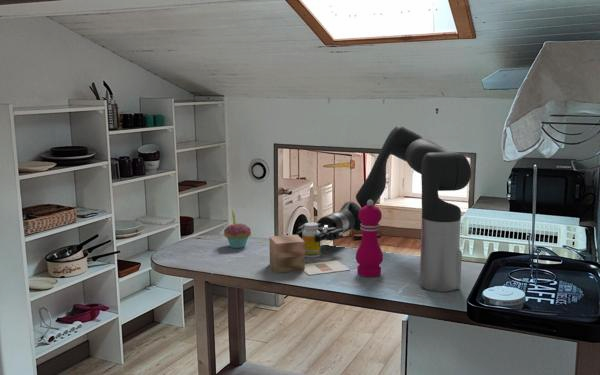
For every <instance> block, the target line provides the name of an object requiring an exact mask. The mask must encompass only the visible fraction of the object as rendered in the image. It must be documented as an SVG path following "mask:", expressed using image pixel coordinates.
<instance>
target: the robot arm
mask: <svg viewBox="0 0 600 375" xmlns="http://www.w3.org/2000/svg"><path fill="white" fill-rule="evenodd" d="M391 155H392V156H394V157H396V158H399V159H400V160H402V161H404V162H406V163H407V164H408V166H409V167H410V168H411V169H412V170H414V172H416V173H418V174H420V175H421V180H420V181H421V228H420V230H421V231H420V234H421V236H420V259H419V260H420V261H419V262H420V263H419V264H420V265H419V285H420V287H422V288H423V289H425V290H428V291H433V292H445V293H446V292H452V291H455V290H461V282H462V279H461V278H462V256H463V252H462V250H461V249H460V246H461V245H460V242H461V240H460V239H461V218H462V211H461V207H459V206H458V205H456V204H454V203H450V202H448V201H445V200H443V199H441V197H439V192H445V191H446V192H448V191H449V192H453V191H460V190H464V189H465V188H466V187H467V186H468V184H469V182H470V181H471V178H472V177H471V176H472V168H471V164H470V162H469V160H468V158H467V157H466V155H464V154H463V153H461V152H456V151H451V150H449V149H446V148H444V147H443V146H441V145H439V144H437V143H435V142H433V141H431V140H428V139H426V138H423V137H422V135H420V134H418V133H416V132H414V131H412V130H410V129H408V128H406V127H404V126H401V125H397V126H395V127H394V128H393V129H392V130H391V131H390V133H389V134H388V135H387V137H386V139H385V141H384V143H383V145H382V147H381V149H380V150H379V152H378V155H377V156H376V159H375V161H374V164H373V166H372V168H371V170H370V172H369V174H368V175H367V177H366V180H364V182H363V184H362V185H361V187H360V188H359V190H358V191H357V193H356V195H355V200H356V202H357V203H358V204H359V205H358V204H357V203H356V202H354V201H347V202H345V203H344V204H343V205H342V207H341V208H340V210H339V211H336V212H332V213H330V214H327V215H325V216H323V217H320V218H319V219H318V220H317V222H316V223H317V224H318V229H317V230H318V231H320V233H319V234H316V235H315V242H320V243H321V242H322V241H331V242H333V241H335V240H338V239H341V238H344V236H343V234H344V233H346V232H348V231H350V230H352V229H354V230H355V231H357V232H359V231H362V230H361V229H360V227H361V225H360V224H361V223H362V222H361V221H360V219H359V211H360V209H361V208H362V207H364V206H367V201H368V200H372V201H373V202H374V204H373V206H376V203H378V201H379V199H380V198H381V196H382V195H383V193H384V191H385V190H386V185H387V164H388V163H387V162H388V159H389V158H390V156H391ZM304 224H305V223H303V224H301V225H300V226H298V228H297V232H296V235H298V236H299V237H300V238H301V239H302V232H303V231H304V230H305V228H304Z"/></svg>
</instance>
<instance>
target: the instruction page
mask: <svg viewBox="0 0 600 375" xmlns="http://www.w3.org/2000/svg"><path fill="white" fill-rule="evenodd" d="M302 271H303V272H304V273H305V274H307V275H308V276H316V275H322V274H330V273H331V274H332V273H338V272H345V271H351V269H350V268H348V267H347V266H346V265H344V264H343V263H341V262H340V261H338V260H329V261H328V260H327V261H321V262H320V261H319V262H313V263H305V269H304V270H302Z"/></svg>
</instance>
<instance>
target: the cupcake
mask: <svg viewBox="0 0 600 375" xmlns="http://www.w3.org/2000/svg"><path fill="white" fill-rule="evenodd" d="M231 215H232V216H231V217H232V224H230V225H228V226H226V227H225V228H224V230H223V236H224V237H225V238H226V239H227V240H228V241H227V242H228V244H229V246H230V248H233V249H241V248H245V247H246V244H247V243H248V242H247V241H248V239H249V237H251V235H252V231H251V228H250V226H247V225H246V224H243V223H236V217H235V216H236V215H235V212H234V210H233V209H232V213H231ZM244 246H245V247H244Z"/></svg>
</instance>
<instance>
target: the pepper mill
mask: <svg viewBox="0 0 600 375" xmlns="http://www.w3.org/2000/svg"><path fill="white" fill-rule="evenodd" d="M373 204H374V202H373V201H372V200H368V201H367V206H364V207H362V208H361V207H360V208H361V209H360V211H359V219H360V221H361V222H362V223H361V224H360V225H361V227H360V229H361V230H360V231H361V241H360V244H359V246H358V248H357V249H356V250H357V251H356V253H355V261H356V263H357V264H358V266H357V274H358V275H359V276H361V277H365V278H374V277H375V278H377V277H379V276H381V274H382V267H381V266H380V265H381V264H382V263H383V261H384V255H383V251H382V248H381V245H380V243H379V239H378V231H379V230H380V224H379V222H380V221H381V220H382V216H383V215H382V211H381V209H380V208H379V207H378V206H376V205H374V206H373Z"/></svg>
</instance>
